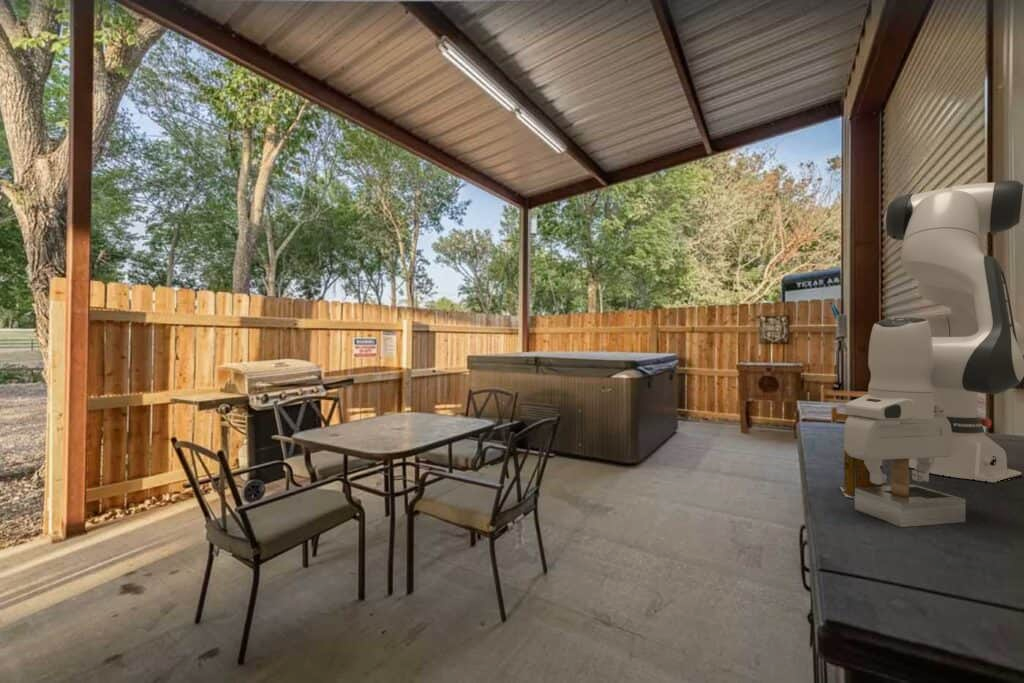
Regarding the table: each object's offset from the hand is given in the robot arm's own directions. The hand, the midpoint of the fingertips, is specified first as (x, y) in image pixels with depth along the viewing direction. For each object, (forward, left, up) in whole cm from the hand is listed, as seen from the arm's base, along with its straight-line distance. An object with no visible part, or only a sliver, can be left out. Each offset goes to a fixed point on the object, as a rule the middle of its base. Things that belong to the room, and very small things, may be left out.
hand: (899, 482), depth 77 cm
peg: (0, 0, -6) cm, 6 cm away
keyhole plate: (-2, 0, -6) cm, 6 cm away
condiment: (-5, -10, -6) cm, 13 cm away
